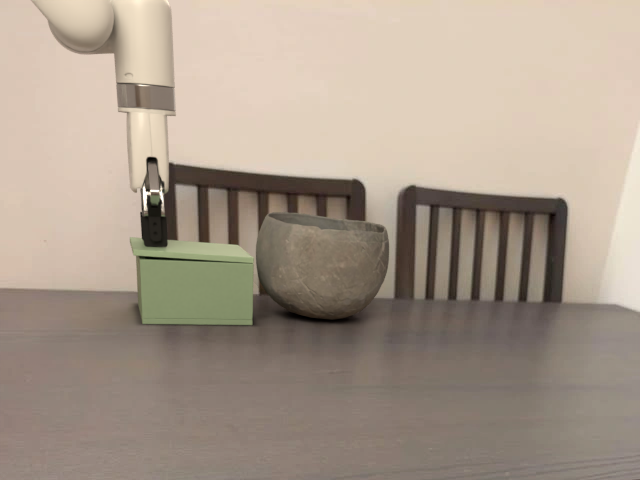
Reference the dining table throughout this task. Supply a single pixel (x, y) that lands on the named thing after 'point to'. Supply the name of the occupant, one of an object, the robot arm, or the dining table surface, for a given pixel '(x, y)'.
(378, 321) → the dining table surface
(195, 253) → the lid
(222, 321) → the green open box
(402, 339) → the dining table surface
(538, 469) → the dining table surface
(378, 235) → the bowl
